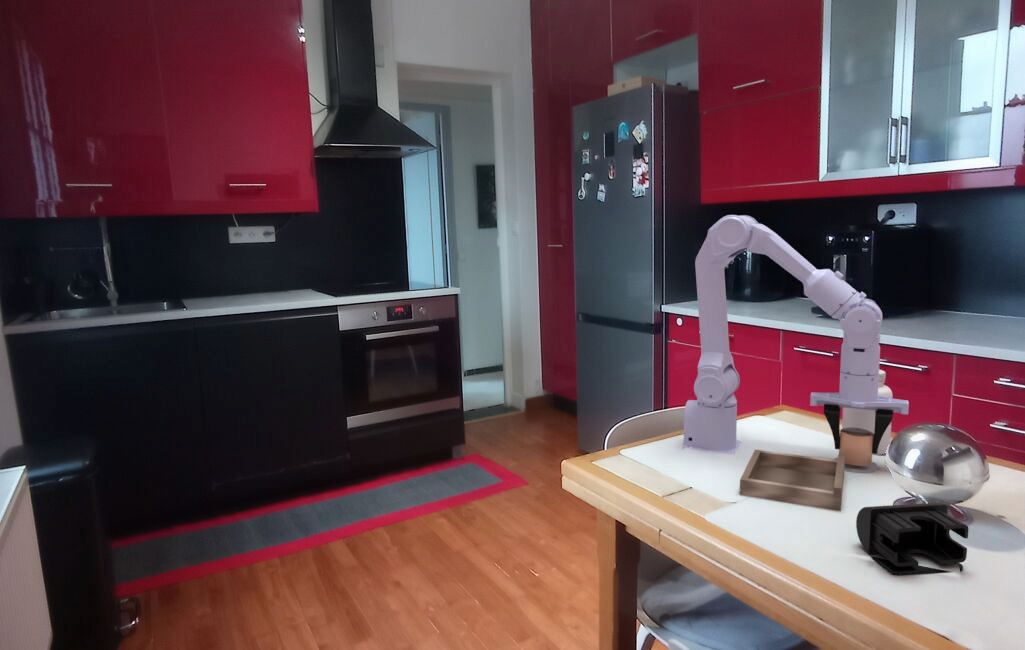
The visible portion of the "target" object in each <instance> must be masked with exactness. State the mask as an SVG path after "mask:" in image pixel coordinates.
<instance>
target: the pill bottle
mask: <svg viewBox="0 0 1025 650" xmlns="http://www.w3.org/2000/svg"><path fill="white" fill-rule="evenodd" d="M886 374H887V373H886V371H885V370H882V369H879V380H878V396H880V397H886V398H892V399H893V391H892V390H891V388H890V387H889V386H887V385H885V382H886V376H887V375H886ZM841 421H842V424H841V429H843V428H850V427H853V428H861V429H865V430H868V431H871V432H872V433H873V434H874V430H875V410H865V409H854V408H843V407H842V420H841ZM891 438H892V422H891V423H890V424H889V426H888V427H887V429H886V431H885V432H884V434H883V436H882V438H881V441H880V444H879V447H878V451H877V454H873V453H872V456H881V455H882V454H883V455H886V454H885V452H886V450H887V447H888V445H889V444H890V445H891Z"/></svg>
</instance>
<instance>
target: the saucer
mask: <svg viewBox="0 0 1025 650" xmlns="http://www.w3.org/2000/svg"><path fill="white" fill-rule="evenodd" d="M832 460H838V457H836V458H833V459H832ZM878 471H879V465H878V463H877V464H876V463H875V462H873V461H872V464H871V465H868V466H855V465H850V464H846V463H845V467H844V472H848V473H849V472H850V473H855V474H873V473H877V472H878Z"/></svg>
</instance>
